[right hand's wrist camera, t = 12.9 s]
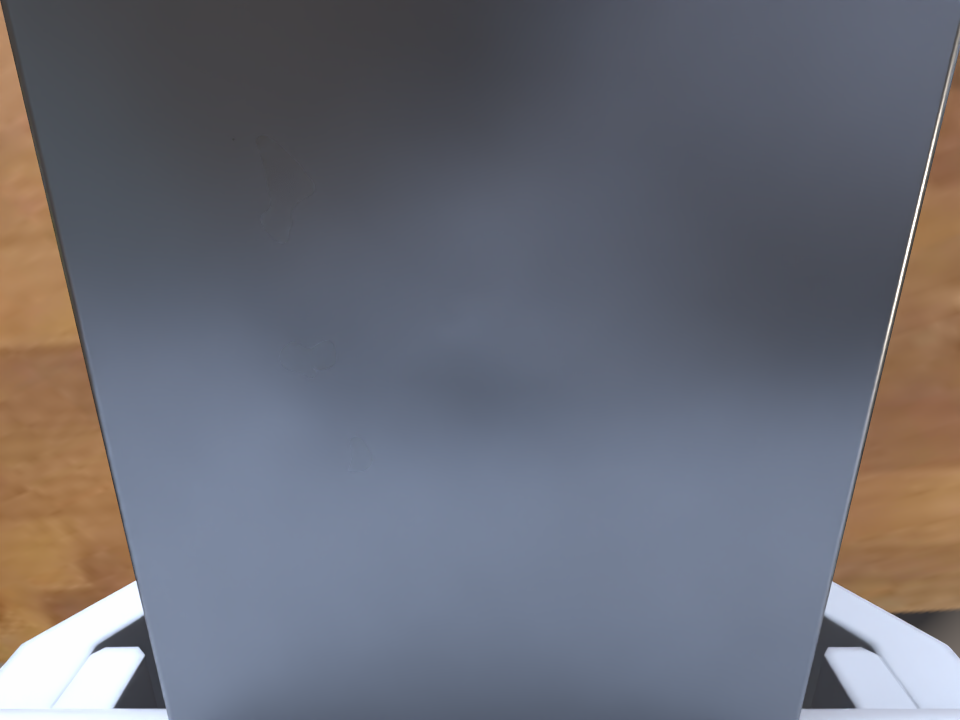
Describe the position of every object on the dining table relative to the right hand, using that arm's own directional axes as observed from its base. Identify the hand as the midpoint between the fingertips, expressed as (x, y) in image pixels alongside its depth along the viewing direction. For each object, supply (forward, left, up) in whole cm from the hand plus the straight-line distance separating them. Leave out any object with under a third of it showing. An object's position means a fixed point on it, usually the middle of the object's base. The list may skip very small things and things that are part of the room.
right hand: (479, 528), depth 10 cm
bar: (-10, -4, -3) cm, 11 cm away
